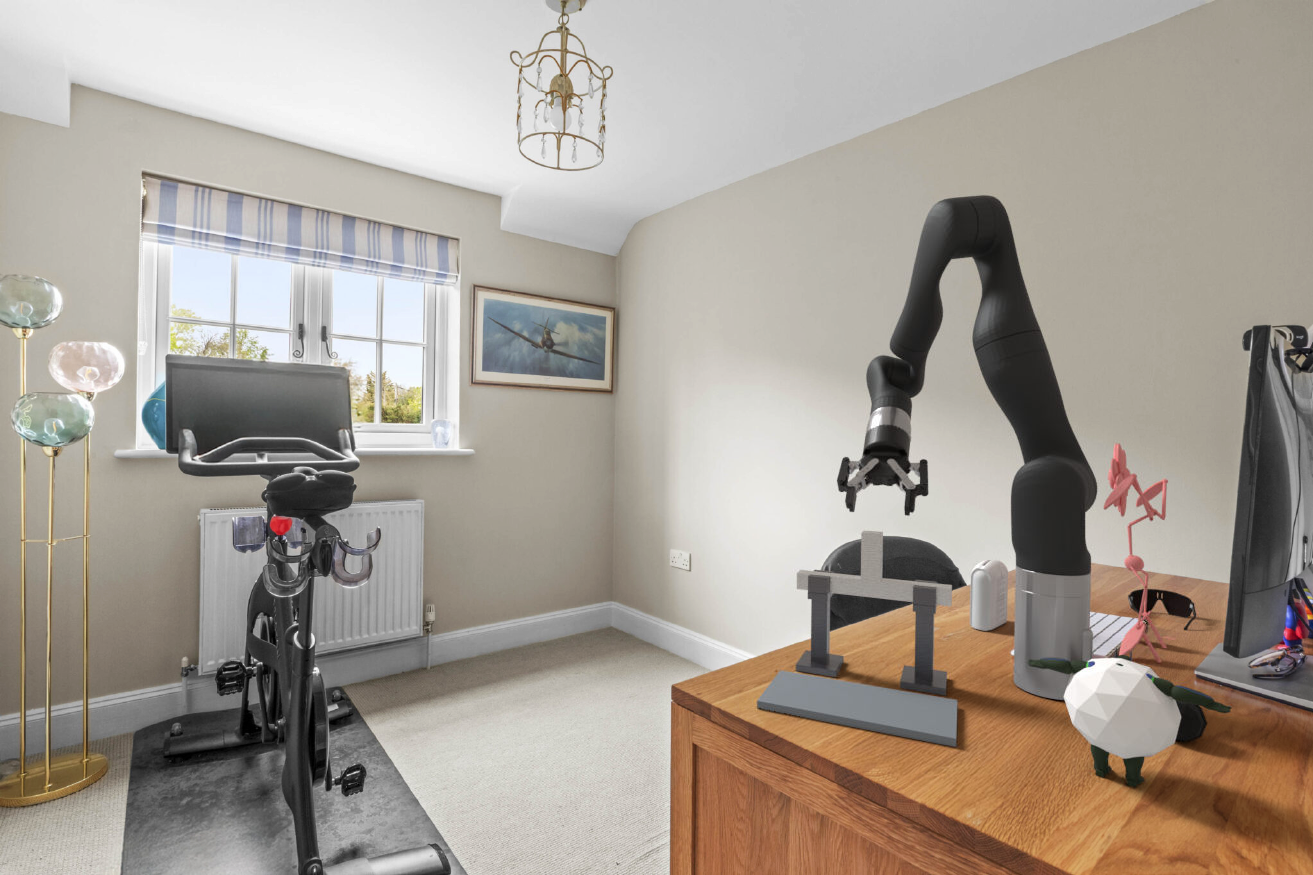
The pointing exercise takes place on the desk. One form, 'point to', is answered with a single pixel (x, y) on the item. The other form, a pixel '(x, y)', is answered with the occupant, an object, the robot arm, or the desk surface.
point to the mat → (863, 707)
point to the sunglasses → (1164, 603)
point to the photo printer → (988, 595)
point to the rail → (874, 577)
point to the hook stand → (830, 664)
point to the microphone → (1190, 722)
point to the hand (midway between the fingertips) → (878, 510)
